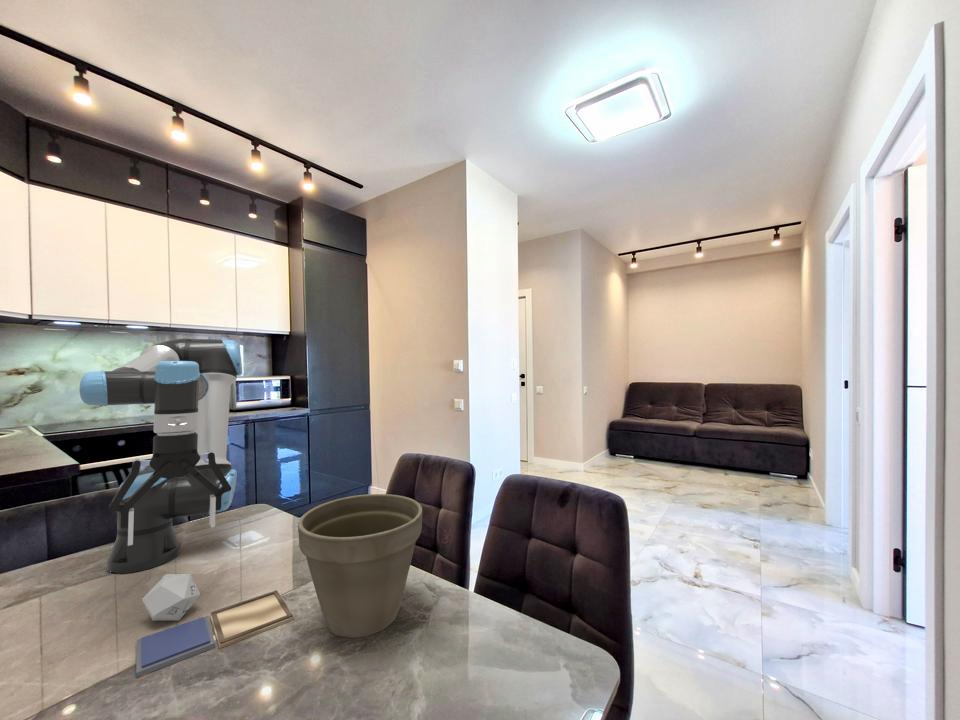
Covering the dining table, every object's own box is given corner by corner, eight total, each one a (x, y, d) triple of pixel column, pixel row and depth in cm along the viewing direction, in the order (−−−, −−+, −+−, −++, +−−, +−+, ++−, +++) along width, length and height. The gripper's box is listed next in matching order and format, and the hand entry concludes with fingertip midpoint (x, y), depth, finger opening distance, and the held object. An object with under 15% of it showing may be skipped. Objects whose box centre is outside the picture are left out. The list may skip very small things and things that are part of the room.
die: (152, 640, 76) (192, 589, 79) (121, 612, 77) (161, 563, 81) (182, 629, 83) (217, 583, 87) (153, 604, 85) (189, 560, 89)
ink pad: (136, 644, 73) (136, 637, 73) (207, 619, 81) (207, 613, 81) (136, 677, 65) (136, 670, 65) (215, 647, 72) (215, 640, 72)
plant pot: (368, 678, 65) (369, 545, 66) (267, 637, 75) (269, 522, 76) (444, 599, 87) (443, 501, 88) (358, 576, 98) (359, 488, 99)
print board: (209, 616, 82) (209, 612, 82) (277, 593, 90) (277, 589, 90) (219, 648, 72) (219, 643, 72) (294, 619, 80) (294, 615, 80)
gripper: (92, 441, 72) (88, 558, 71) (246, 429, 89) (244, 523, 88) (96, 437, 78) (92, 545, 77) (240, 426, 94) (238, 515, 93)
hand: (173, 534), depth 82 cm, fingers open, 13 cm apart
